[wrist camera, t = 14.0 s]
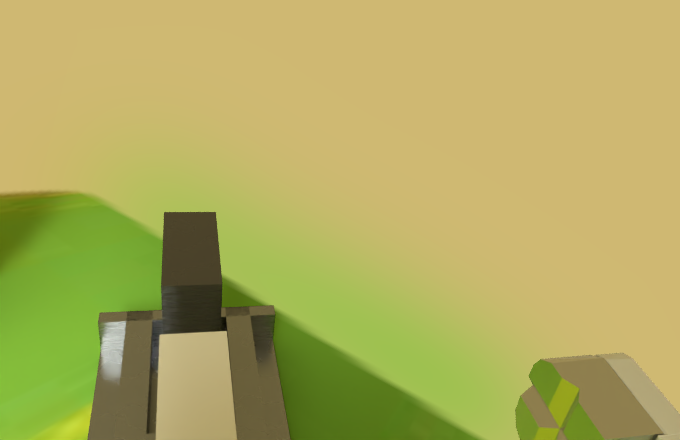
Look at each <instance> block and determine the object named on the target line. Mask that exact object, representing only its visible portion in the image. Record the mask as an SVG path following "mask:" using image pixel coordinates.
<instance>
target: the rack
mask: <svg viewBox="0 0 680 440" xmlns="http://www.w3.org/2000/svg"><path fill="white" fill-rule="evenodd" d="M161 293H162V310H154V311H130V312H106V313H100V314H99V320H98V326H99V336H100V346H101V353H100V359H99V366H98V373H97V379H96V386H95V393H94V400H93V406H92V413H91V420H90V426H89V433H88V440H156V416H157V389H158V362H159V335H161V334H180V333H199V332H217V331H227V339H228V350H229V360H230V371H231V382H232V392H233V403H234V414H235V424H236V435H237V440H291V439H290V434H289V428H288V423H287V417H286V412H285V406H284V400H283V395H282V389H281V384H280V378H279V372H278V367H277V361H276V356H275V350H274V344H273V332H274V322H275V311H274V306H249V307H225V308H221V305H222V276H221V265H220V254H219V243H218V232H217V221H216V212H165V213H164V230H163V255H162V281H161Z"/></svg>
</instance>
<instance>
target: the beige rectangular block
mask: <svg viewBox="0 0 680 440" xmlns="http://www.w3.org/2000/svg"><path fill="white" fill-rule="evenodd" d="M156 440H237V435H236V424H235V414H234V403H233V392H232V382H231V371H230V360H229V350H228V339H227V331H217V332H199V333H180V334H161V335H159V362H158V389H157V416H156Z"/></svg>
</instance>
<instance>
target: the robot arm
mask: <svg viewBox="0 0 680 440" xmlns="http://www.w3.org/2000/svg"><path fill="white" fill-rule="evenodd" d="M529 378H530V380H531V382H532V384H533V386H531V387H530V388H529V389H528V390H527V391H525V392H524V393H523V394H522V395H521V396H520V399H519V402H518V405H517V407H516V428H517V431H518V434H519V437H520V440H680V414H679V413H678V411H677V410H676V409H675V408H674V407H673V405H672V404H671V403H670V402H669V401H668V400H667V398H666V397H665V396H664V395H663V394H662V392H661V391H660V390H659V389H658V388H657V387H656V385H655V384H654V383H653V382H652V381H651V380H650V379H649V377H648V376H647V375H646V374H645V372H644V371H643V370H642V369H641V368H640V367H639V365H638V364H637V363H636V362H635V361H634V359H632V358H631V357H629V356H628V355H626V354H624V353H614V354H601V355H594V356H593V355H586V356H573V357H562V358H550V359H540V360H539V361H538V362H537V363H535V364H534V365H533V368H532V370H531V372H530V374H529Z"/></svg>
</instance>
